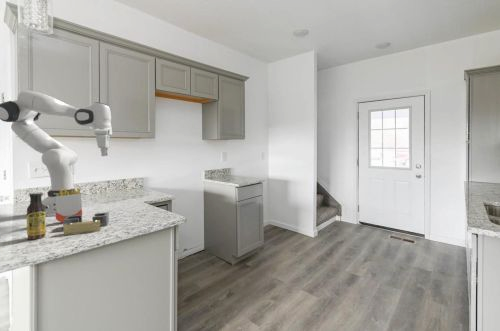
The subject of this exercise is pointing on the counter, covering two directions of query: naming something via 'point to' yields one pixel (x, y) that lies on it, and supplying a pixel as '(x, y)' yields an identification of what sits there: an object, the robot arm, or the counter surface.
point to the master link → (82, 227)
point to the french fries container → (68, 204)
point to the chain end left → (72, 219)
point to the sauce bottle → (36, 217)
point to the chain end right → (102, 218)
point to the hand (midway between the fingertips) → (104, 156)
